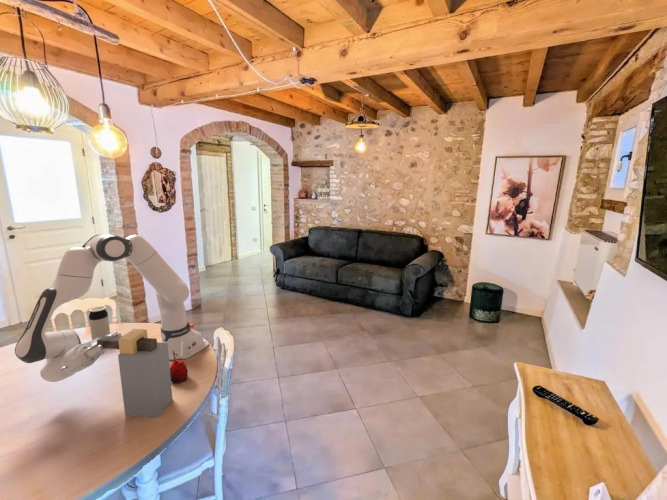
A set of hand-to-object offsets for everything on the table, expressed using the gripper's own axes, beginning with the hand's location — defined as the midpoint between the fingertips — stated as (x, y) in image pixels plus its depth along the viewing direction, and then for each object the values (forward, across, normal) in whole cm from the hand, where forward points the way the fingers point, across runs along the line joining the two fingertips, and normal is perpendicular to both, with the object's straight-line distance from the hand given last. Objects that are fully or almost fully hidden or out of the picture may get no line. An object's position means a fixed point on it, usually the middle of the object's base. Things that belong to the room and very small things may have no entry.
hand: (110, 341), depth 117 cm
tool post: (-2, 0, +29) cm, 29 cm away
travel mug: (-52, +47, +1) cm, 70 cm away
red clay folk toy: (-1, +18, +30) cm, 35 cm away
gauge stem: (+5, 0, +5) cm, 7 cm away
